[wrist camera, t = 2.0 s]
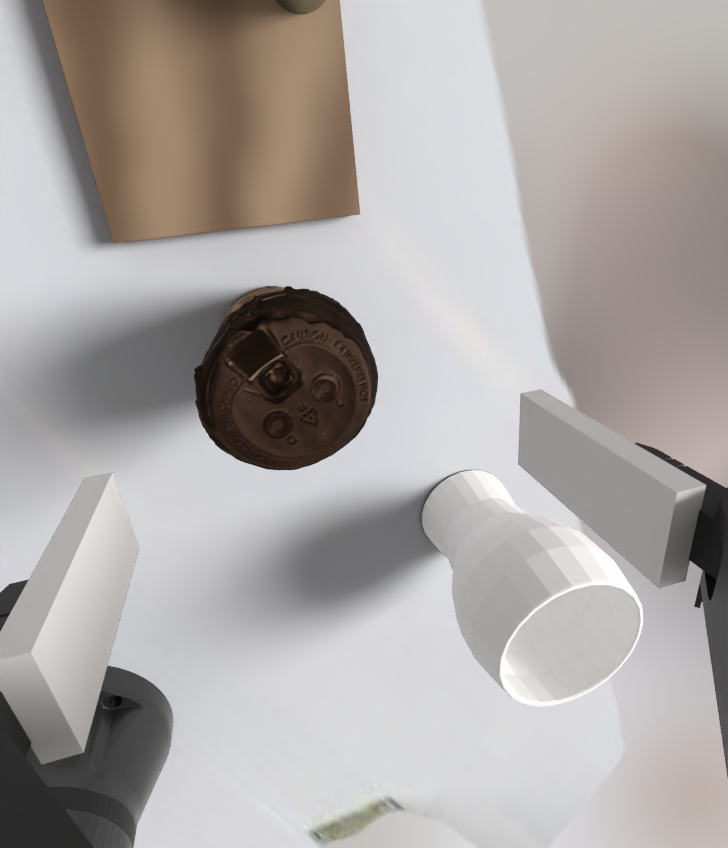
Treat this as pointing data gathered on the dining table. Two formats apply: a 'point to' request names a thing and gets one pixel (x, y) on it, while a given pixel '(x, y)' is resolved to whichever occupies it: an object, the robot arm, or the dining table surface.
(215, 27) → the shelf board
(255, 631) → the dining table surface
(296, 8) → the green cylinder
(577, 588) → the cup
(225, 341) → the coffee cup
